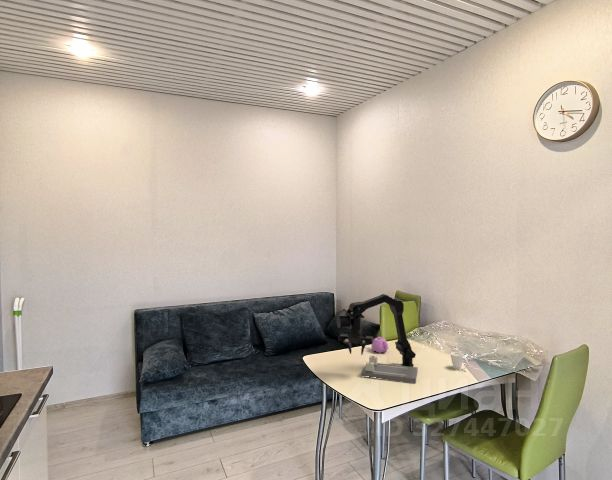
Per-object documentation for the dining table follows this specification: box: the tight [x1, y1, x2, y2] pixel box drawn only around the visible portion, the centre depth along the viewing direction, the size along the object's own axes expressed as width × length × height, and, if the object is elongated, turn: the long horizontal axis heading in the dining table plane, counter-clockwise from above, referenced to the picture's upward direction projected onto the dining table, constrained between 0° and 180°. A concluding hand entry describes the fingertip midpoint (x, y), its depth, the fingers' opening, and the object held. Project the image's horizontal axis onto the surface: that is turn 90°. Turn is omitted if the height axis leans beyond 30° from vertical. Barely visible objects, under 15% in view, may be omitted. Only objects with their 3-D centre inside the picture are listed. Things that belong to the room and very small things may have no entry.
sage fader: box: [365, 361, 374, 372], centre depth 200 cm, size 3×4×4 cm
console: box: [361, 362, 419, 384], centre depth 201 cm, size 16×28×3 cm, turn 70°
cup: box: [450, 351, 469, 371], centre depth 207 cm, size 7×10×8 cm
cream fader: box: [368, 355, 378, 365], centre depth 209 cm, size 3×4×4 cm
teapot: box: [371, 336, 389, 354], centre depth 239 cm, size 10×15×9 cm
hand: (356, 354), depth 202 cm, fingers open, 6 cm apart
